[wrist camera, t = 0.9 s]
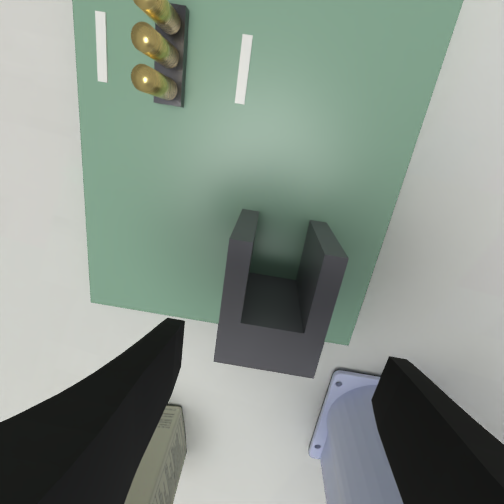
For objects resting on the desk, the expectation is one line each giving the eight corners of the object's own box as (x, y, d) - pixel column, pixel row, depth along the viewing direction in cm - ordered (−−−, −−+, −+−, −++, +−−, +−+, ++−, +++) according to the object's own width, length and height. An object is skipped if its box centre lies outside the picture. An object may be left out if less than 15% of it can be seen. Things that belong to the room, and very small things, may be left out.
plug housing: (303, 315, 20) (313, 378, 15) (229, 303, 20) (213, 361, 15) (326, 222, 17) (348, 258, 12) (242, 208, 17) (229, 238, 12)
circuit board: (344, 334, 21) (348, 346, 20) (100, 293, 22) (90, 303, 20) (455, -9, 14) (472, -22, 13) (83, -66, 14) (65, -85, 13)
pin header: (183, 107, 16) (159, 99, 12) (157, 103, 16) (126, 94, 12) (189, 10, 14) (163, -29, 11) (160, 6, 14) (125, -35, 11)
